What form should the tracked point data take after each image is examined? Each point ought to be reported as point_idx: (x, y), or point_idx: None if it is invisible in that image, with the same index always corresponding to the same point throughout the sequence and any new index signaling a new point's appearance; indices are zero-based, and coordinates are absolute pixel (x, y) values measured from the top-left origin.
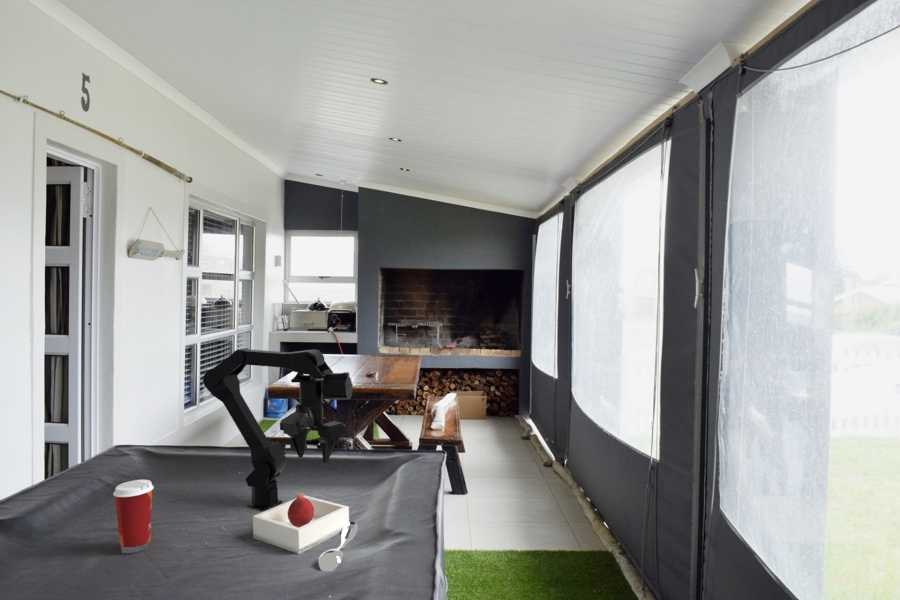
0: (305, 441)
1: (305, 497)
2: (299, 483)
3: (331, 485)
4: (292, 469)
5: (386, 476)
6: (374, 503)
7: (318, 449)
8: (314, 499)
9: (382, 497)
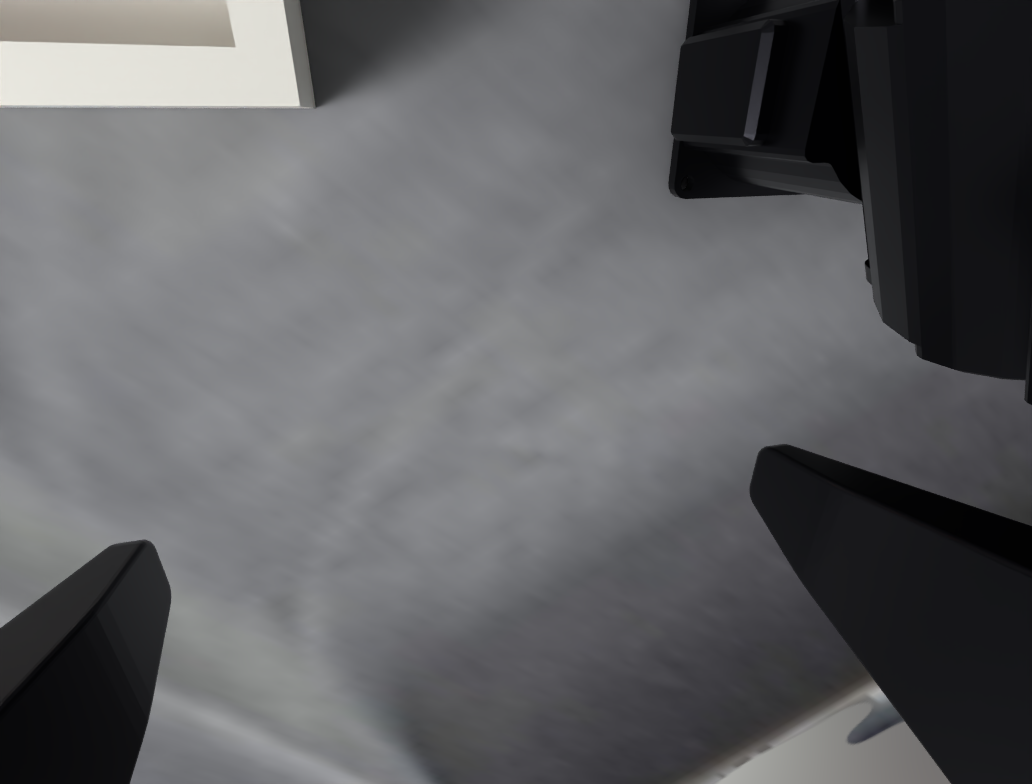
0: (930, 753)
1: (207, 50)
2: None
3: (599, 550)
4: None
5: (437, 764)
6: None
7: None
8: (28, 57)
9: None
